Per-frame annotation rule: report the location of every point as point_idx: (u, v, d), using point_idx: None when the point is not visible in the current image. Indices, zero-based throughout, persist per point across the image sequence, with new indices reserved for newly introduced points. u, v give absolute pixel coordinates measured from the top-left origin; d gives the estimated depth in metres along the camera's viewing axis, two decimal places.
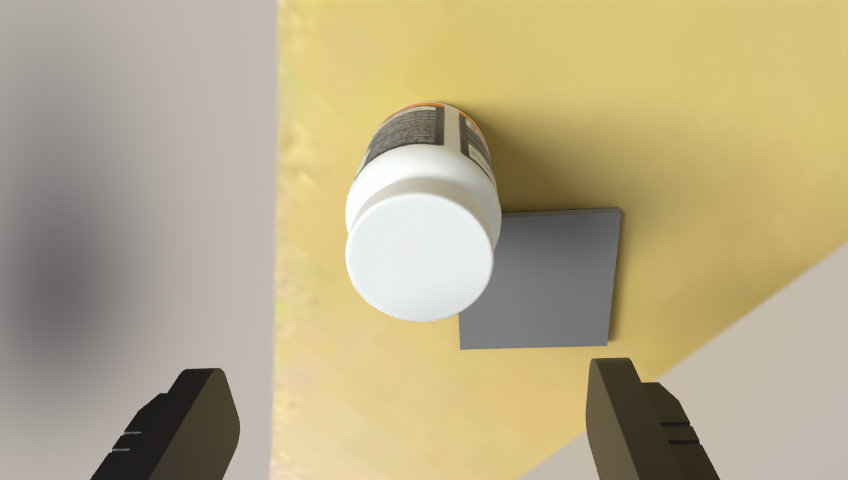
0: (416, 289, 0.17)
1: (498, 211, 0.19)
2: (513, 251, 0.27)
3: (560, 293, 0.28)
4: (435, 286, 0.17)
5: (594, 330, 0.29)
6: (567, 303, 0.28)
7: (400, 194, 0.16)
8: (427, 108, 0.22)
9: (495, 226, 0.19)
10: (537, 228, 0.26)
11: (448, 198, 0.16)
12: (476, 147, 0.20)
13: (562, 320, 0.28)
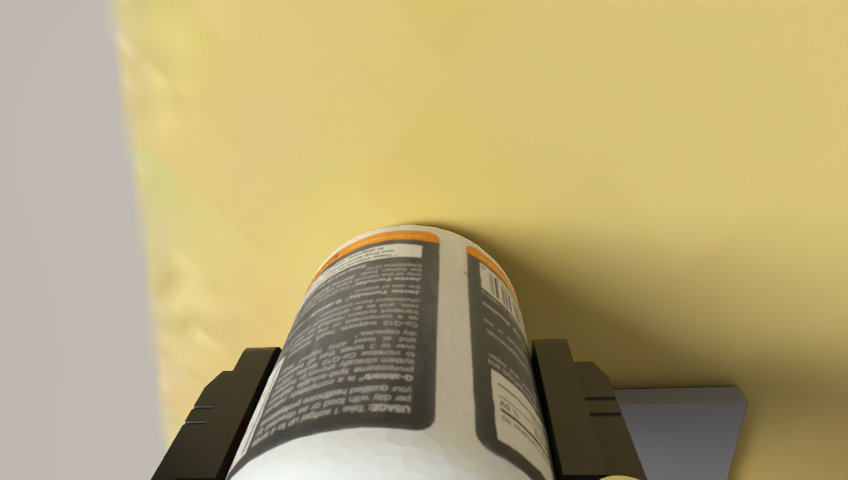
0: None
1: None
2: None
3: None
4: None
5: None
6: None
7: None
8: (406, 251, 0.12)
9: None
10: None
11: None
12: (506, 366, 0.09)
13: None
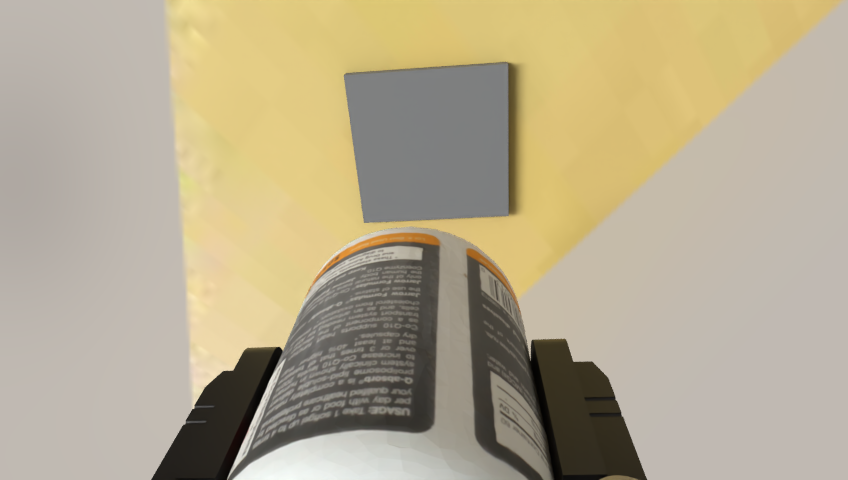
0: None
1: None
2: (405, 110, 0.27)
3: (457, 157, 0.28)
4: None
5: (494, 198, 0.29)
6: (464, 168, 0.28)
7: None
8: (406, 253, 0.12)
9: None
10: (427, 83, 0.26)
11: None
12: (506, 368, 0.09)
13: (461, 187, 0.29)
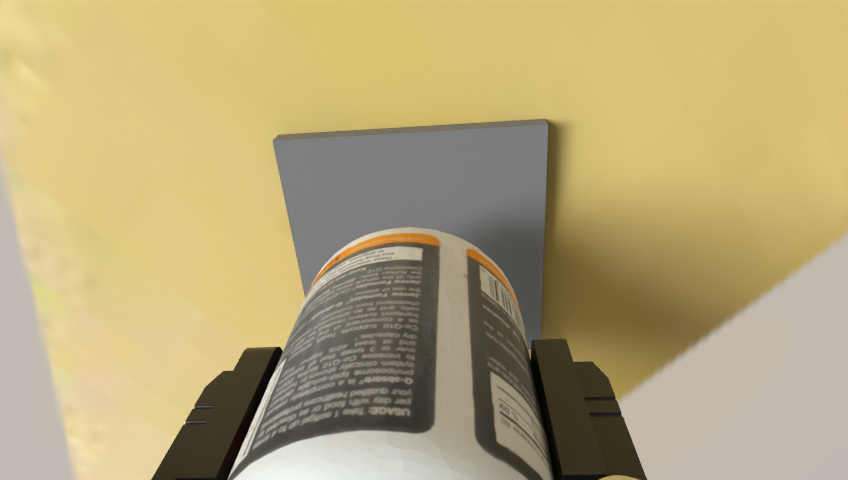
0: None
1: None
2: (377, 195, 0.16)
3: None
4: None
5: None
6: None
7: None
8: (406, 254, 0.12)
9: None
10: (411, 154, 0.16)
11: None
12: (506, 369, 0.09)
13: None
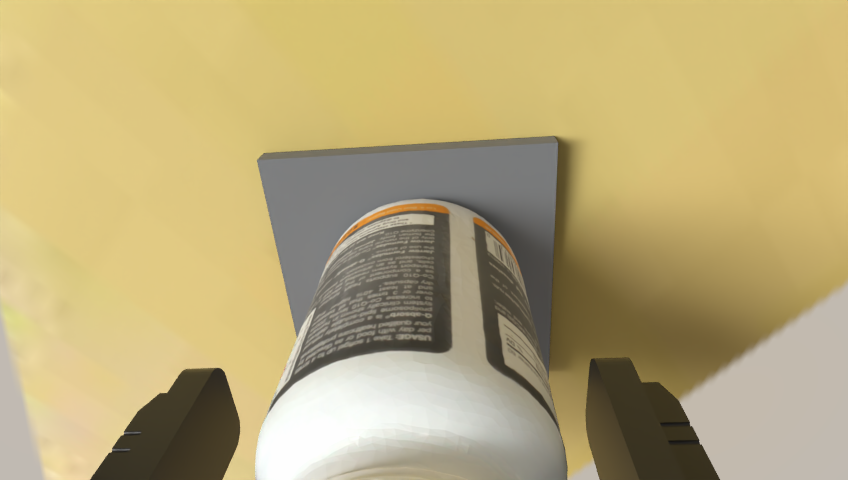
0: None
1: (564, 474, 0.09)
2: None
3: None
4: None
5: None
6: None
7: None
8: (419, 219, 0.13)
9: None
10: (408, 174, 0.14)
11: None
12: (511, 313, 0.11)
13: None
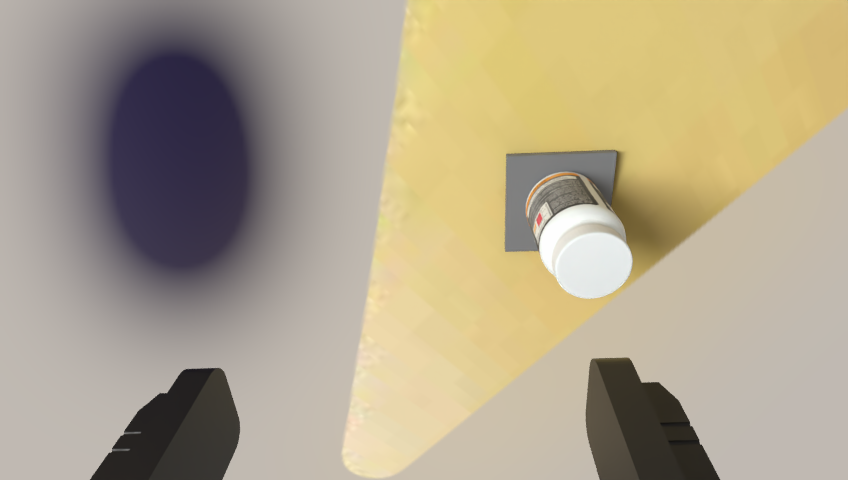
0: (589, 281, 0.33)
1: None
2: None
3: None
4: (600, 279, 0.33)
5: None
6: None
7: (590, 232, 0.31)
8: (571, 177, 0.38)
9: None
10: (562, 162, 0.40)
11: (614, 235, 0.31)
12: (607, 203, 0.36)
13: None
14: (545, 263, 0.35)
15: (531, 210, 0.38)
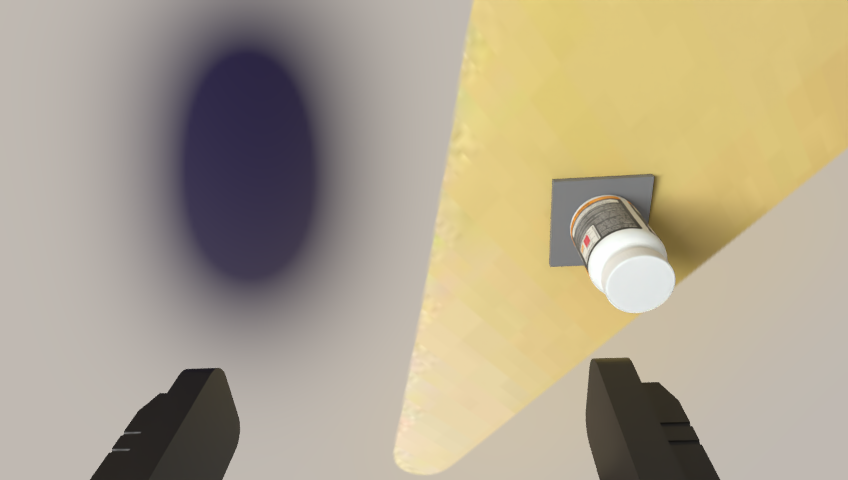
0: (636, 298, 0.37)
1: None
2: None
3: None
4: (645, 296, 0.37)
5: None
6: None
7: (637, 256, 0.35)
8: (613, 201, 0.42)
9: None
10: (603, 186, 0.43)
11: (659, 257, 0.35)
12: (648, 225, 0.40)
13: None
14: (594, 281, 0.39)
15: (577, 231, 0.42)
